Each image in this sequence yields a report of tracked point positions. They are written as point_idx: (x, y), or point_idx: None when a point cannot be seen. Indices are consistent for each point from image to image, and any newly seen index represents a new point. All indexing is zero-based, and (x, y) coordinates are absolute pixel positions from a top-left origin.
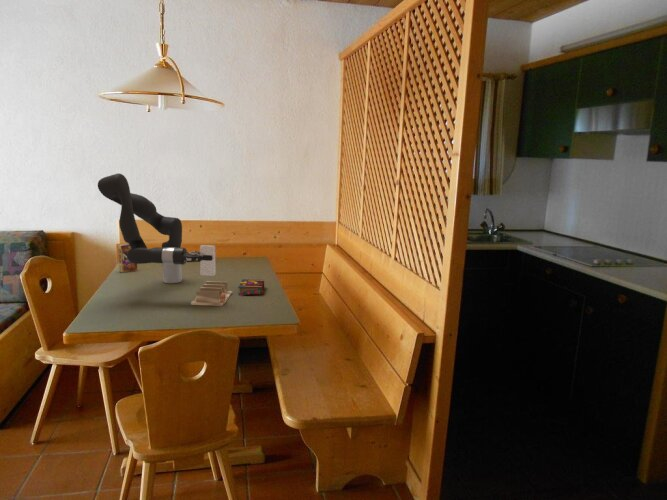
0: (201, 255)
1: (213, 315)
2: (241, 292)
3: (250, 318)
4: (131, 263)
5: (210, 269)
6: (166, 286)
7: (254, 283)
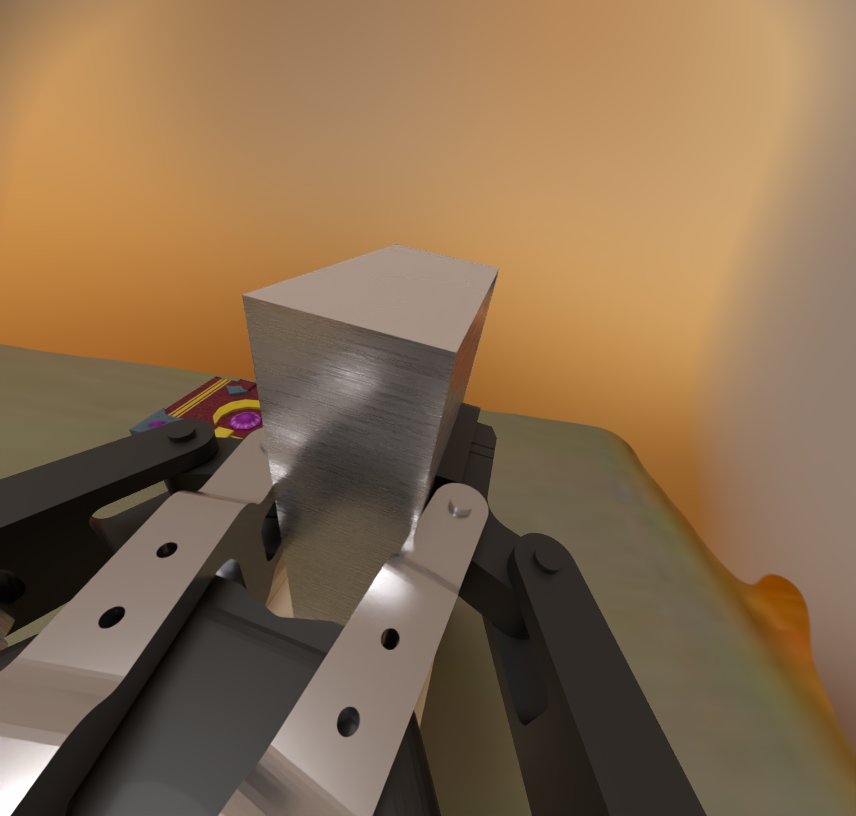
0: (486, 513)
1: None
2: None
3: (607, 512)
4: None
5: None
6: None
7: (253, 410)
